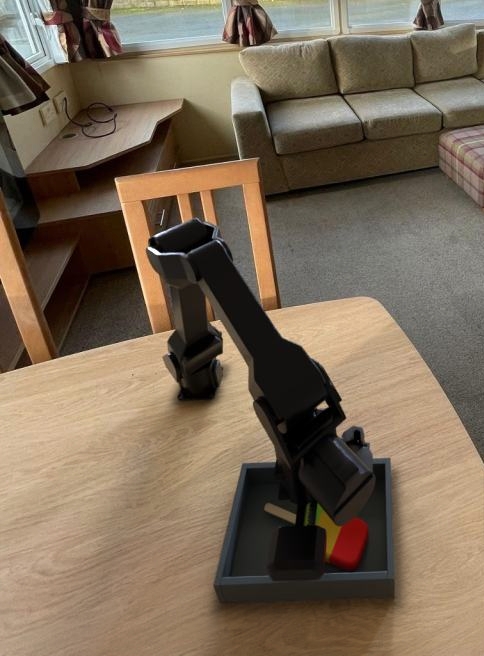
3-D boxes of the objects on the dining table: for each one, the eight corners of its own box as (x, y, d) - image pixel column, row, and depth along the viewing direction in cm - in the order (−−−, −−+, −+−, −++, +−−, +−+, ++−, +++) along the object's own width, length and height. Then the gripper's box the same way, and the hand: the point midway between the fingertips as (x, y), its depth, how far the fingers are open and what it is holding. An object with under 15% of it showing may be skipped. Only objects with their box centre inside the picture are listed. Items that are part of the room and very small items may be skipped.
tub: (219, 604, 59) (213, 585, 57) (247, 481, 72) (242, 462, 70) (395, 597, 60) (394, 579, 58) (391, 476, 72) (390, 457, 70)
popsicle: (355, 577, 61) (355, 569, 60) (255, 531, 66) (252, 523, 65) (371, 529, 66) (371, 522, 65) (276, 490, 71) (274, 482, 70)
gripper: (366, 536, 49) (371, 609, 56) (368, 377, 66) (372, 448, 73) (257, 540, 49) (276, 613, 56) (286, 380, 66) (298, 451, 73)
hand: (311, 520), depth 64 cm, fingers open, 9 cm apart
